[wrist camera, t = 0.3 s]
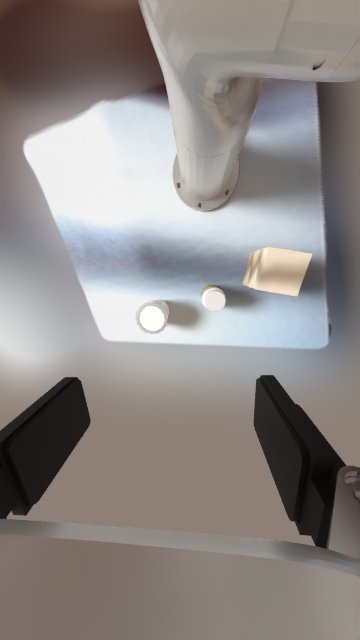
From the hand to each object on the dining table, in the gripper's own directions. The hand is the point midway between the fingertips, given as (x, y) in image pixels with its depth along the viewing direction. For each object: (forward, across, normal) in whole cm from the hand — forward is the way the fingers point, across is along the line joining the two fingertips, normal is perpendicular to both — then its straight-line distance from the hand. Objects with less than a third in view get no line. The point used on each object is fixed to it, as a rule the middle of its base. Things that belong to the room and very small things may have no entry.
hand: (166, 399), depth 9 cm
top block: (+29, -17, -5) cm, 34 cm away
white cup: (+34, +8, +3) cm, 35 cm away
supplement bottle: (+34, -5, -1) cm, 35 cm away
